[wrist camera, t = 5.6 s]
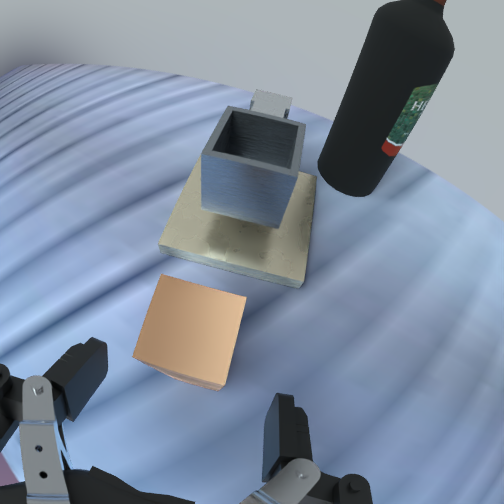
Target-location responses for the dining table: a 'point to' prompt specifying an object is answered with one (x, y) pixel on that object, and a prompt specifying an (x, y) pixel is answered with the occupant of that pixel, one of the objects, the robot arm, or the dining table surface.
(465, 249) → the dining table surface
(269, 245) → the cup bracket
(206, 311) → the tan wooden block
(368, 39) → the wine bottle
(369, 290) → the dining table surface
